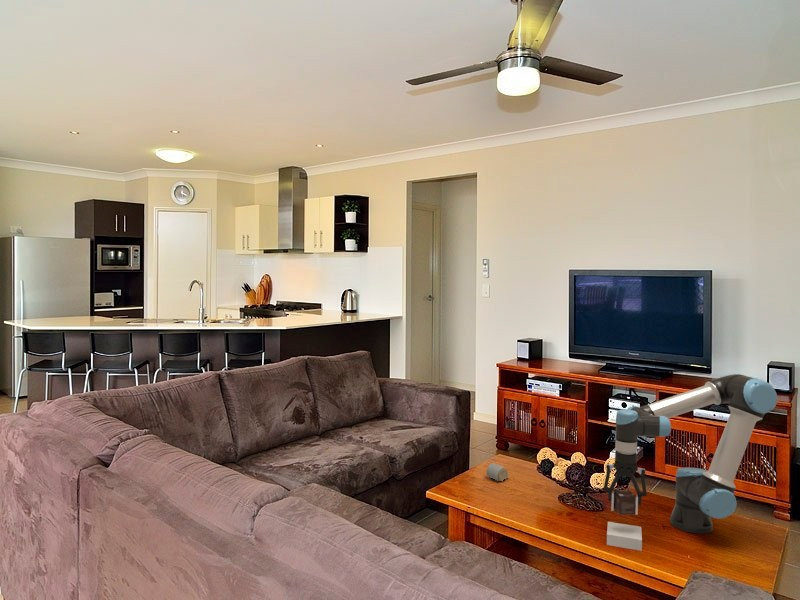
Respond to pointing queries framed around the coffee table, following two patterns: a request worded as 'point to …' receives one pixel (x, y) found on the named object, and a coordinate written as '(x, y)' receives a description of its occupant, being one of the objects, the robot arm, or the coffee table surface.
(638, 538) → the base block
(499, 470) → the ceramic mug
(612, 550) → the coffee table surface
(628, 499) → the box
